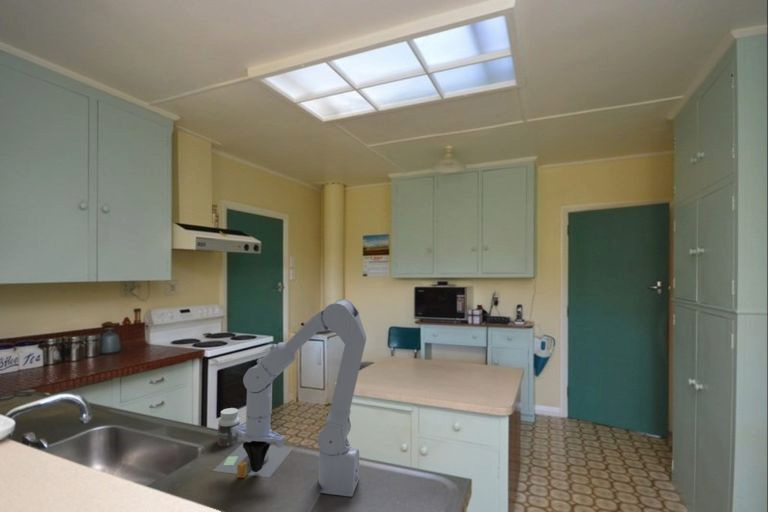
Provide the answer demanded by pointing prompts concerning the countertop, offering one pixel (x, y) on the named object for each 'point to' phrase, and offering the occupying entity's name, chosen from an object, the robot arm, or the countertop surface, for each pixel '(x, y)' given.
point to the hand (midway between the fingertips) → (257, 469)
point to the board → (267, 469)
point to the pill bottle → (228, 427)
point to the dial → (247, 466)
